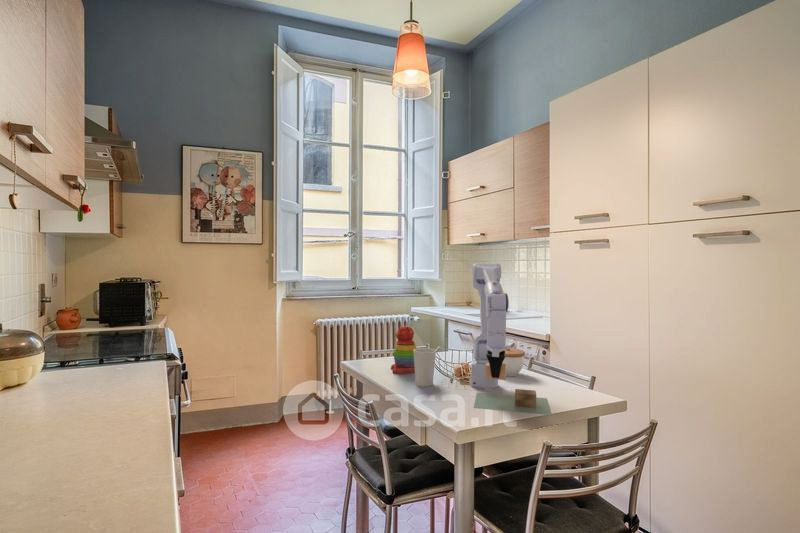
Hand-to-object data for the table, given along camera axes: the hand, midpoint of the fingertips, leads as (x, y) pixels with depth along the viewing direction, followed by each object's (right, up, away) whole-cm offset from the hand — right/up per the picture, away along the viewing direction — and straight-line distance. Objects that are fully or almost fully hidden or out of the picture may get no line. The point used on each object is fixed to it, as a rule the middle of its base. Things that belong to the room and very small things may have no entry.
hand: (495, 375), depth 142 cm
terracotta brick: (0, -1, 0) cm, 1 cm away
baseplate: (+4, -9, -3) cm, 10 cm away
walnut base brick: (+8, -8, -5) cm, 12 cm away
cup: (-21, -8, +19) cm, 30 cm away
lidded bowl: (+12, -8, +36) cm, 39 cm away
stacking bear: (-28, -8, +38) cm, 48 cm away
